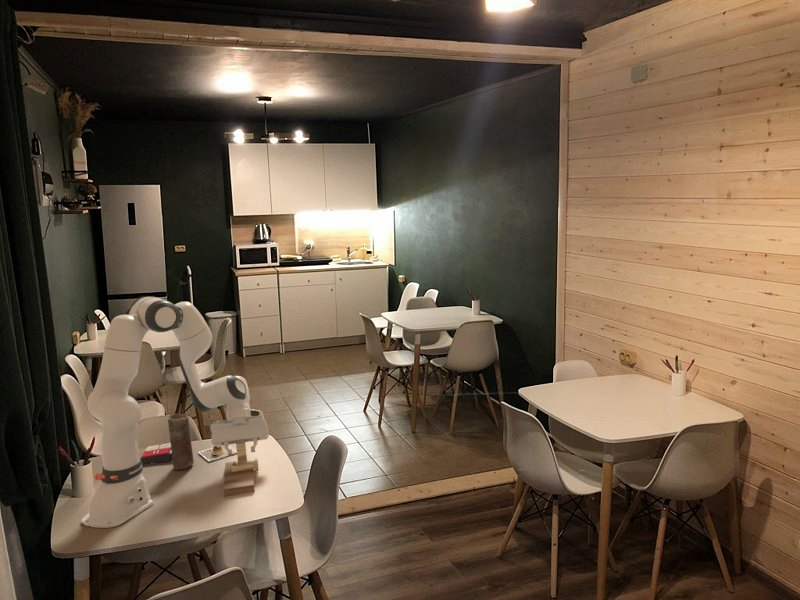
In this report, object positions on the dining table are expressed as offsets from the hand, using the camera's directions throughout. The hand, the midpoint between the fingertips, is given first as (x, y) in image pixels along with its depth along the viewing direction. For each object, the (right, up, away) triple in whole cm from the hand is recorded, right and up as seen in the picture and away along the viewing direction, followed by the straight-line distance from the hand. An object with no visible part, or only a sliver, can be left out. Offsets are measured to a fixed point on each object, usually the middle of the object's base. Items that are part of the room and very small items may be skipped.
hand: (241, 453), depth 226 cm
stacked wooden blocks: (+1, -6, +2) cm, 7 cm away
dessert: (-14, -6, +21) cm, 26 cm away
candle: (-24, -8, +10) cm, 28 cm away
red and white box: (-35, -7, +21) cm, 42 cm away
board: (0, -9, -3) cm, 9 cm away
